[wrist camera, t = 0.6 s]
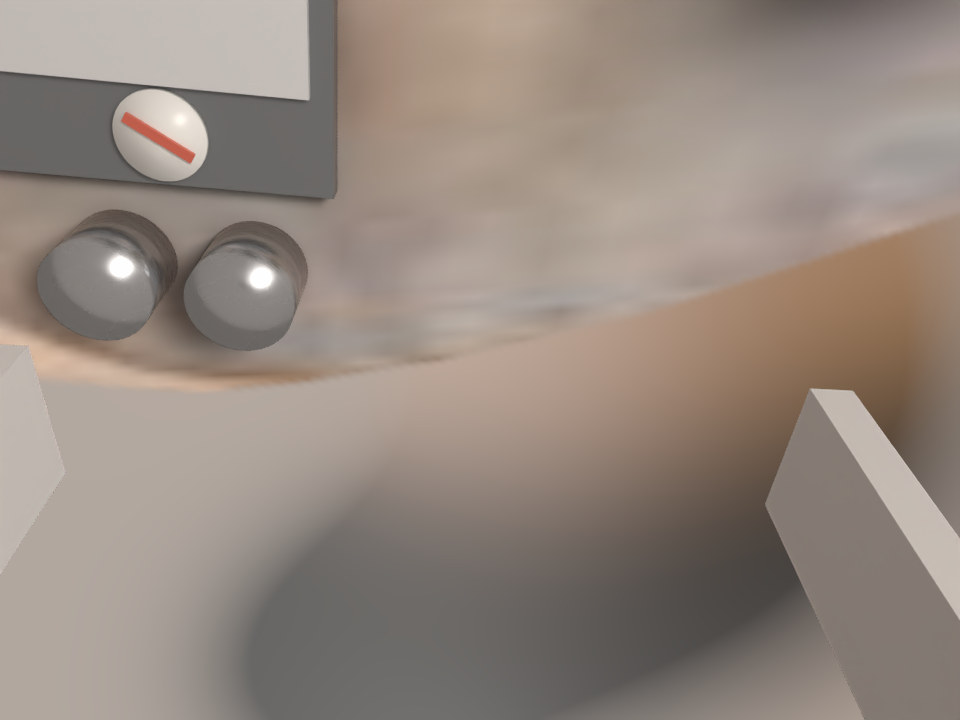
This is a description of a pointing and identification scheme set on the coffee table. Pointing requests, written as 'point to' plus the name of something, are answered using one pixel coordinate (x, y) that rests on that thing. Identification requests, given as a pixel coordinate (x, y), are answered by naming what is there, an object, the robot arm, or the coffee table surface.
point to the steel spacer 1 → (108, 275)
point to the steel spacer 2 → (246, 286)
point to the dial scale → (172, 92)
